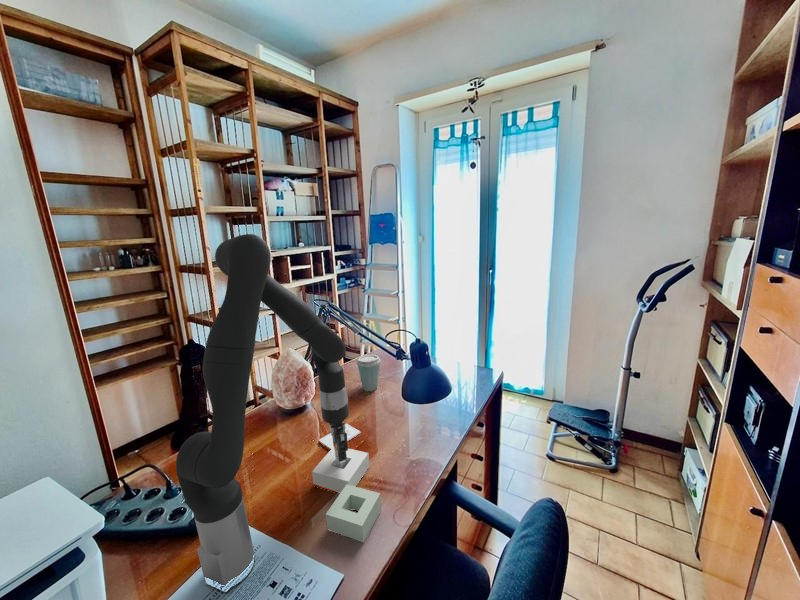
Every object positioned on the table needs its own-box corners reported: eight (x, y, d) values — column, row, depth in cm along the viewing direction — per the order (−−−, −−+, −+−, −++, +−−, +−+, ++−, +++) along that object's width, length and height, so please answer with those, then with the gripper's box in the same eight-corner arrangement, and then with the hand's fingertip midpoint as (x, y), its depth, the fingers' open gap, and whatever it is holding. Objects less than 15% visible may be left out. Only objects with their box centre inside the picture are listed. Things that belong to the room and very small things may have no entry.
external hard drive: (318, 443, 117) (346, 426, 126) (332, 454, 112) (361, 435, 120) (317, 439, 117) (346, 422, 126) (332, 449, 111) (360, 431, 120)
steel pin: (344, 481, 99) (341, 448, 96) (335, 478, 100) (331, 446, 98) (349, 473, 102) (346, 442, 99) (341, 471, 103) (337, 440, 100)
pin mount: (363, 543, 80) (362, 525, 79) (327, 530, 83) (325, 514, 82) (381, 509, 89) (380, 493, 88) (348, 499, 92) (346, 484, 91)
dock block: (350, 496, 93) (348, 481, 92) (313, 486, 98) (311, 471, 97) (369, 467, 104) (368, 453, 103) (336, 458, 109) (334, 445, 107)
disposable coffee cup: (355, 386, 155) (352, 356, 151) (376, 380, 160) (374, 350, 156) (364, 396, 146) (361, 364, 142) (386, 389, 150) (384, 358, 147)
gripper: (316, 393, 100) (322, 443, 104) (326, 418, 87) (332, 473, 91) (341, 387, 103) (346, 435, 107) (354, 410, 90) (359, 464, 94)
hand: (340, 453), depth 99 cm, fingers open, 6 cm apart
